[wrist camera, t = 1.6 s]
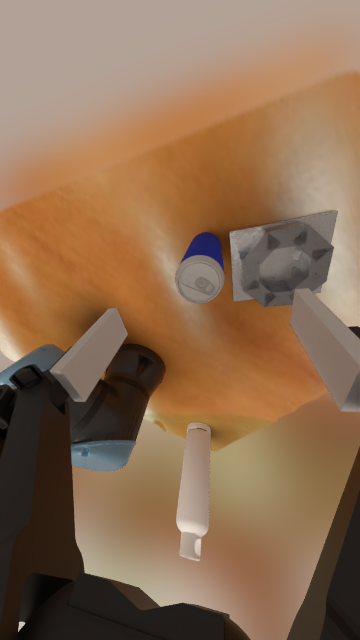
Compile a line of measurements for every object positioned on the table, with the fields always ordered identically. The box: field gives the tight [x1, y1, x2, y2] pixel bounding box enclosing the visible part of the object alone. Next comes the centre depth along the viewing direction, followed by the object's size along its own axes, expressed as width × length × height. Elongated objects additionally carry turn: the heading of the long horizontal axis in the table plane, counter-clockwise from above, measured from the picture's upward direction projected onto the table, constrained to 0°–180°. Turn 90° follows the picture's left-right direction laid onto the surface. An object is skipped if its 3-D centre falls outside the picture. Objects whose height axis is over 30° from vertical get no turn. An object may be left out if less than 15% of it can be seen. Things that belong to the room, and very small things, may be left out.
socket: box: [229, 211, 338, 307], centre depth 28 cm, size 14×12×4 cm
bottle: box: [176, 422, 211, 561], centre depth 53 cm, size 8×8×28 cm
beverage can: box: [175, 233, 224, 304], centre depth 25 cm, size 5×5×15 cm
